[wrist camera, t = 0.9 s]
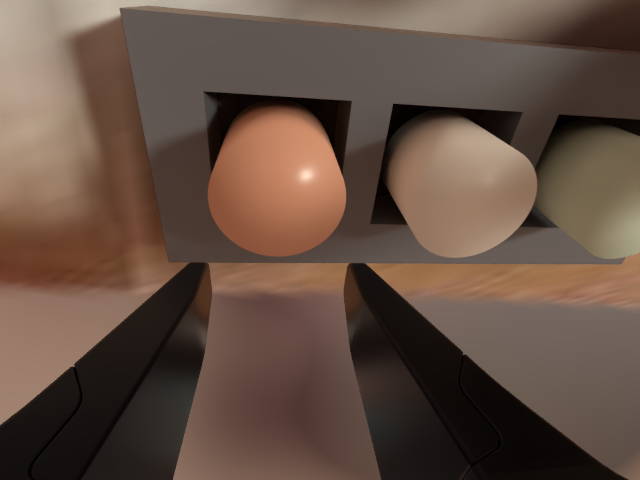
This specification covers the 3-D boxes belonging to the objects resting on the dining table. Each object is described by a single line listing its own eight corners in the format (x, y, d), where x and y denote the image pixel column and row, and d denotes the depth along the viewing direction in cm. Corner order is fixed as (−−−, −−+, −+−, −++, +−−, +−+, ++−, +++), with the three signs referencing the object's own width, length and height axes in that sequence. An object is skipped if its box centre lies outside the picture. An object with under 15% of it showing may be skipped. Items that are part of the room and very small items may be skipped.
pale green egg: (634, 121, 16) (736, 157, 13) (585, 209, 19) (657, 259, 15) (544, 115, 16) (623, 151, 12) (505, 207, 18) (561, 258, 15)
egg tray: (688, 56, 17) (760, 66, 14) (582, 234, 22) (620, 264, 20) (148, 6, 14) (119, 8, 11) (182, 228, 19) (169, 262, 17)
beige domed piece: (493, 112, 15) (559, 148, 12) (461, 205, 18) (508, 258, 14) (392, 106, 15) (429, 141, 11) (373, 203, 17) (399, 257, 14)
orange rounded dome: (335, 102, 15) (355, 137, 11) (325, 202, 17) (338, 257, 14) (220, 95, 14) (200, 130, 10) (227, 199, 17) (213, 256, 13)
